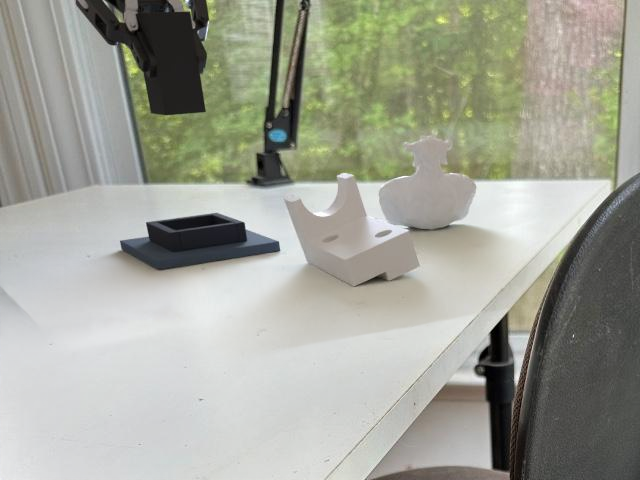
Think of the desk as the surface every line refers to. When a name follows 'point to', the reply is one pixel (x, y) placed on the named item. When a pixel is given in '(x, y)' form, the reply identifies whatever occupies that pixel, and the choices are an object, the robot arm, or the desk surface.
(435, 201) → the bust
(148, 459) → the desk surface
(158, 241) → the base pad
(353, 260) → the bracket
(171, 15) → the tall black rectangular peg
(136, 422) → the desk surface
